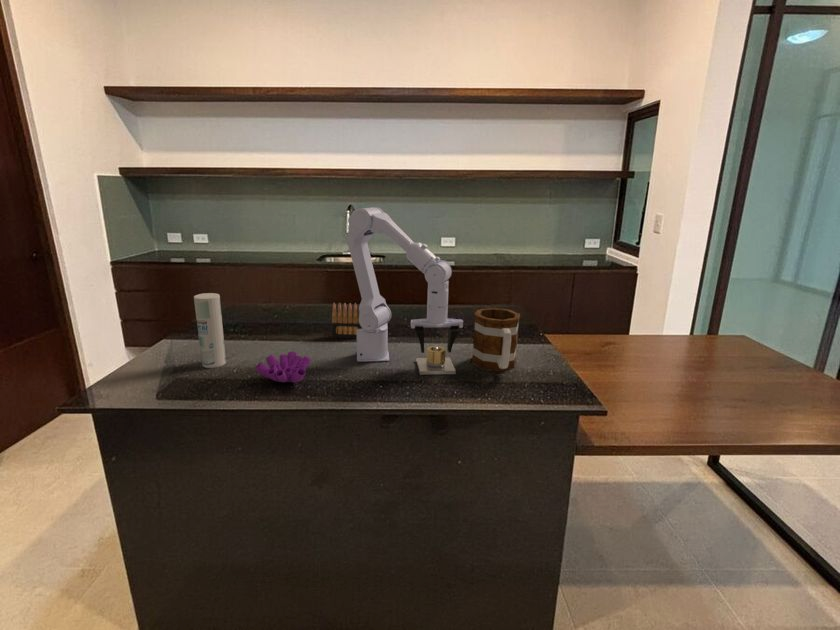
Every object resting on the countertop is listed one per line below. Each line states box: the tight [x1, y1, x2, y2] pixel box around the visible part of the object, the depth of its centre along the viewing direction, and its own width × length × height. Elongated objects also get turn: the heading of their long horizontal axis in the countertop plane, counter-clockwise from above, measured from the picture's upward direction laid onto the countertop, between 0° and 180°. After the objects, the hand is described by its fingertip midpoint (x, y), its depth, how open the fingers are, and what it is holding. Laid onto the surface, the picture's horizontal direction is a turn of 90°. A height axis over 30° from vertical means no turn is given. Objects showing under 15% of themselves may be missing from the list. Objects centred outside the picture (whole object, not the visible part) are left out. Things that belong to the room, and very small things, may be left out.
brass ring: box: [425, 345, 447, 364], centre depth 134 cm, size 5×5×4 cm
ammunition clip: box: [331, 302, 362, 339], centre depth 157 cm, size 11×2×12 cm, turn 89°
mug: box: [471, 307, 521, 372], centre depth 135 cm, size 20×14×15 cm
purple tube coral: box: [254, 351, 312, 383], centre depth 124 cm, size 11×15×10 cm
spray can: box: [193, 292, 227, 369], centre depth 131 cm, size 6×6×20 cm
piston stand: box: [415, 347, 457, 376], centre depth 134 cm, size 10×10×6 cm
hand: (435, 351), depth 134 cm, fingers open, 7 cm apart
